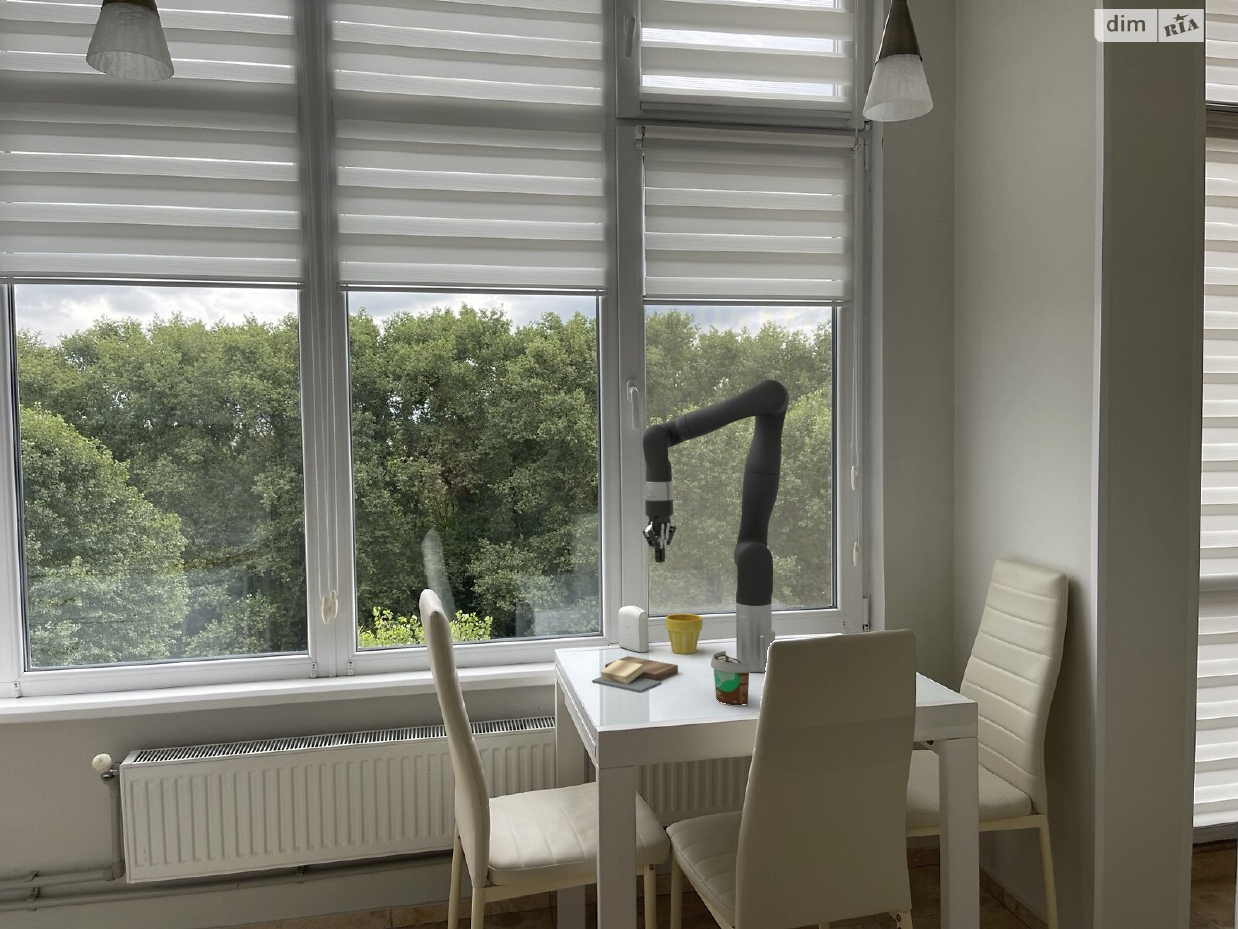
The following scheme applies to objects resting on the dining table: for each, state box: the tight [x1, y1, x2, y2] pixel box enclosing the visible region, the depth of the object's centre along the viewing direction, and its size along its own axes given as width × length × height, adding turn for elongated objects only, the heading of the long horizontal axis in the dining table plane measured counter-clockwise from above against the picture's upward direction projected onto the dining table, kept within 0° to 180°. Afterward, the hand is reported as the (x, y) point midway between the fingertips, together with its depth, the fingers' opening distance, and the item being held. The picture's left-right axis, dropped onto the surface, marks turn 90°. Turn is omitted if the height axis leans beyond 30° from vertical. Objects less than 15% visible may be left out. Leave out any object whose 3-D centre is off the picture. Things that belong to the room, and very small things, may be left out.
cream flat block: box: [600, 659, 644, 684], centre depth 215 cm, size 8×7×2 cm
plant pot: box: [665, 613, 703, 655], centre depth 243 cm, size 10×10×10 cm
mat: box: [591, 676, 663, 694], centre depth 213 cm, size 15×9×1 cm, turn 52°
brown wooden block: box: [604, 655, 679, 681], centre depth 222 cm, size 16×10×2 cm, turn 52°
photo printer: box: [617, 605, 650, 653], centre depth 246 cm, size 10×4×12 cm, turn 39°
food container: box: [710, 650, 752, 706], centre depth 197 cm, size 12×6×10 cm, turn 21°
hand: (660, 562), depth 232 cm, fingers closed
